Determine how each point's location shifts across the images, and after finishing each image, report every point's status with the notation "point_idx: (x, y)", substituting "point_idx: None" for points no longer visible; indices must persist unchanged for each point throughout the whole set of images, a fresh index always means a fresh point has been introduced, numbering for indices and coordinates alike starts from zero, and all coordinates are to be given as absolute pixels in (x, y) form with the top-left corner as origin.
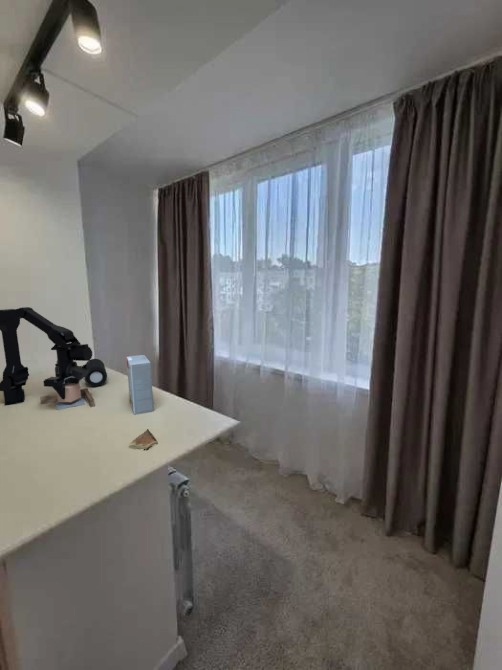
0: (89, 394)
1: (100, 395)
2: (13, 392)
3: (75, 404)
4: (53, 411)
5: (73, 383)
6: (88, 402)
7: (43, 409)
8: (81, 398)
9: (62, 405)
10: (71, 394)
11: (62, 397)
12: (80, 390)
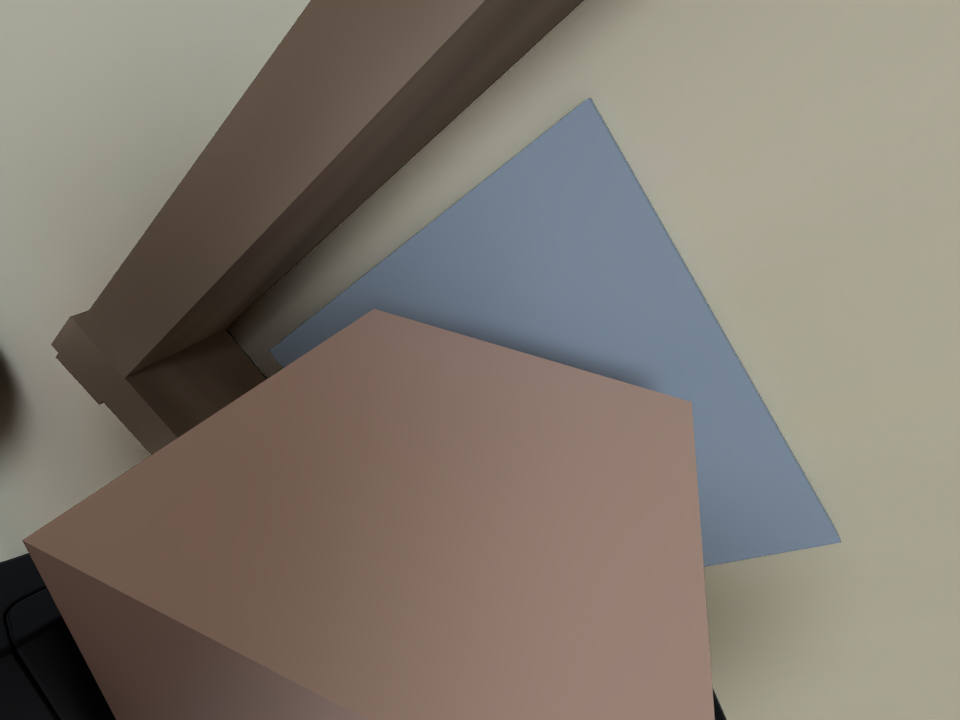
0: (302, 82)
1: (121, 46)
2: None
3: (619, 308)
4: (903, 568)
5: (111, 703)
6: (535, 35)
7: (729, 680)
8: (324, 325)
9: None
10: (637, 518)
11: None
12: (166, 420)
